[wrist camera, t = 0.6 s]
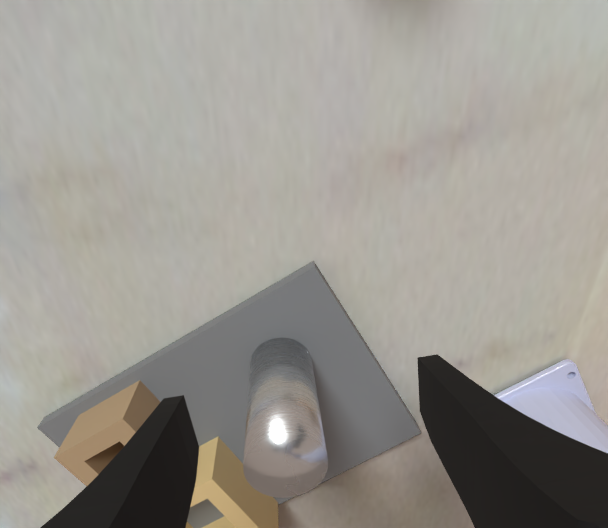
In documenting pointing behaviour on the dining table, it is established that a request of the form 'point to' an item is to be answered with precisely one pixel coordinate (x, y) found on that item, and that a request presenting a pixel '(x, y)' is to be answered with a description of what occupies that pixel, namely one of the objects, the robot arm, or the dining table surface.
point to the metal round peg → (283, 421)
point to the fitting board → (241, 399)
